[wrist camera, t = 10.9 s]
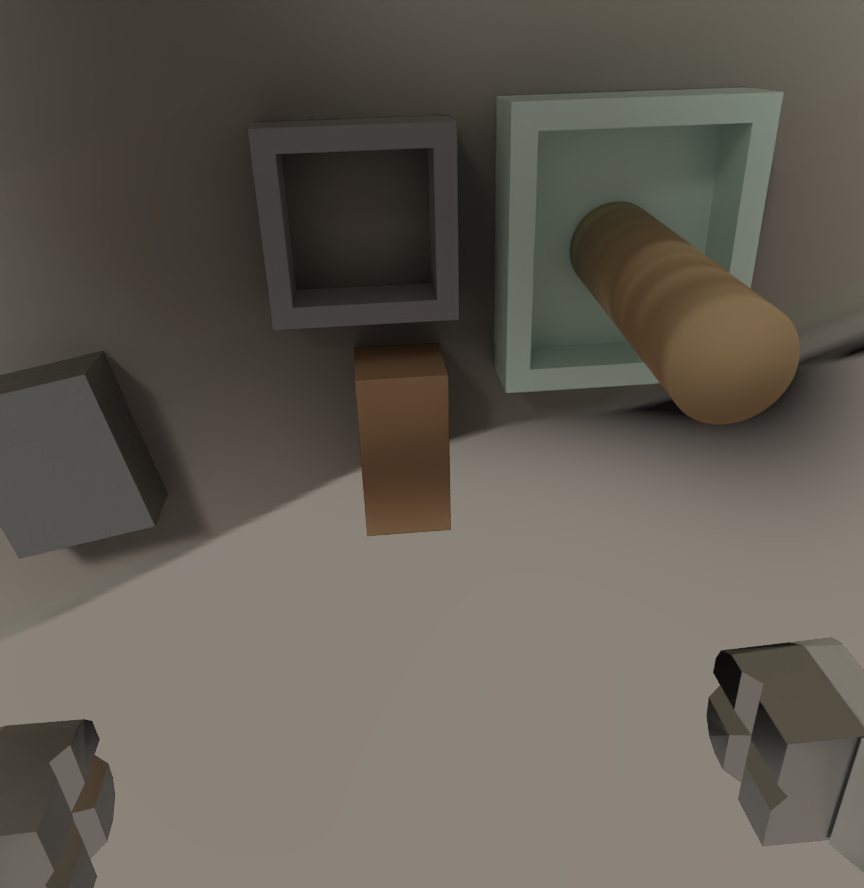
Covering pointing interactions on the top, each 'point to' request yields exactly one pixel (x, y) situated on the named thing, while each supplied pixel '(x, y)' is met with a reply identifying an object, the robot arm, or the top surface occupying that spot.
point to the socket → (365, 300)
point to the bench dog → (404, 437)
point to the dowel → (685, 315)
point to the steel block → (72, 458)
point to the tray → (604, 181)
